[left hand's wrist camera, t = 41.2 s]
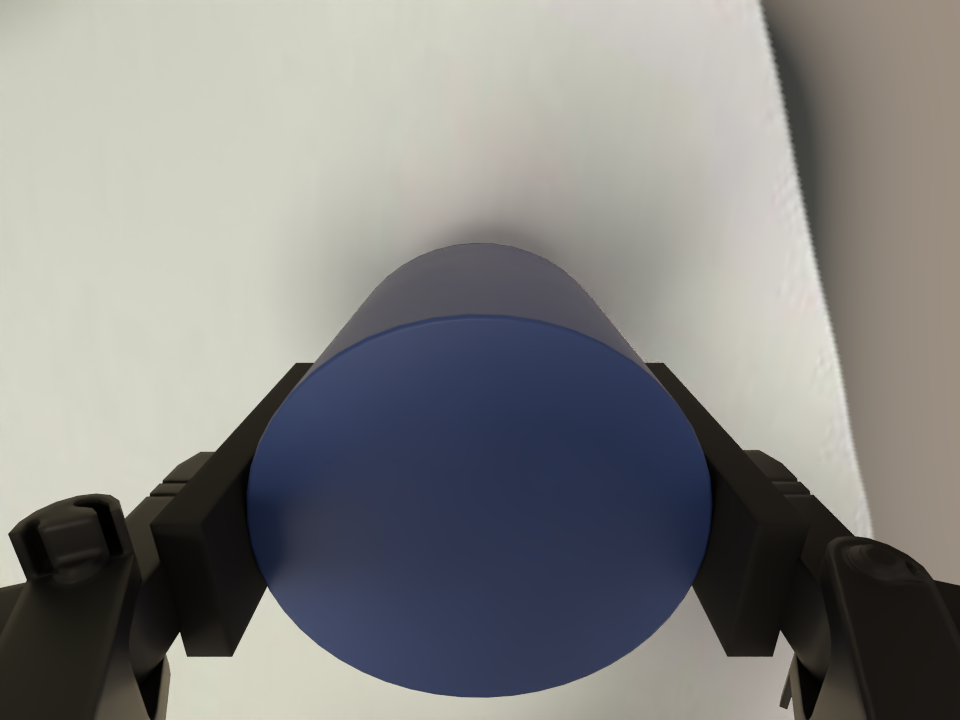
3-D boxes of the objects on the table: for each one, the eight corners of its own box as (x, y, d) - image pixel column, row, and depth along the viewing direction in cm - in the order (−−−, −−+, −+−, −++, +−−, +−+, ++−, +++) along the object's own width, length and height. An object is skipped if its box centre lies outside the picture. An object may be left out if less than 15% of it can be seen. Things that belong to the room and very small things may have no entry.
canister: (666, 324, 15) (815, 453, 9) (528, 524, 18) (558, 745, 11) (415, 188, 14) (354, 213, 7) (306, 427, 17) (185, 612, 10)
